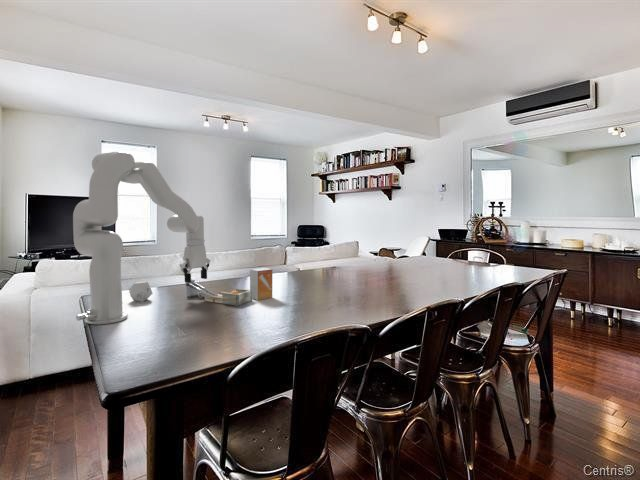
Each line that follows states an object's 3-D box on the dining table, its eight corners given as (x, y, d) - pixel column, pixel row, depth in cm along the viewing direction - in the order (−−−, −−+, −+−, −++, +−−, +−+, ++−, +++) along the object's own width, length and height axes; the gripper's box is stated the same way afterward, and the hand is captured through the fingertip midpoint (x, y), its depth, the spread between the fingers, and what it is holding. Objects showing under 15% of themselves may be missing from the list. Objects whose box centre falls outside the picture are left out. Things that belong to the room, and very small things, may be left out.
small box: (257, 300, 156) (257, 270, 155) (249, 298, 160) (249, 269, 159) (272, 297, 161) (272, 268, 160) (264, 295, 166) (264, 267, 165)
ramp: (211, 299, 156) (210, 284, 156) (185, 296, 163) (185, 281, 162) (218, 297, 160) (218, 282, 160) (193, 294, 167) (193, 279, 167)
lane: (237, 305, 147) (237, 294, 146) (204, 300, 155) (204, 290, 154) (251, 300, 155) (251, 290, 155) (219, 296, 163) (219, 286, 163)
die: (129, 305, 148) (144, 286, 148) (120, 292, 153) (134, 274, 153) (146, 308, 156) (160, 290, 156) (137, 296, 160) (150, 278, 160)
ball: (235, 287, 152) (228, 294, 150) (243, 295, 152) (235, 302, 150) (233, 289, 156) (226, 296, 153) (240, 296, 156) (233, 303, 154)
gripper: (203, 241, 171) (203, 276, 172) (173, 243, 155) (174, 282, 157) (215, 241, 167) (215, 278, 169) (186, 244, 152) (187, 284, 153)
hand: (196, 280), depth 163 cm, fingers open, 9 cm apart
